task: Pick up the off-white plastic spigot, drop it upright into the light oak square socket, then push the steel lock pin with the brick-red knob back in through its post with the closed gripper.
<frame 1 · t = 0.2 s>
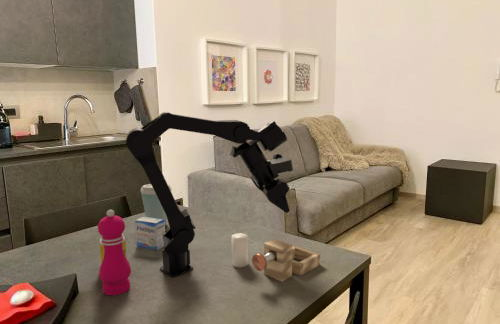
hand: (282, 206, 110), 14 cm above the table, tool tilted 30°, fingers open, 9 cm apart
medicine box: (151, 246, 120), on the table
dock socket: (297, 265, 105), on the table
disposable coffee cup: (158, 225, 138), on the table
lock pin: (269, 257, 96), point 6 cm above the table, slide at 0.0 cm
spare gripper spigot: (240, 263, 107), on the table
pepper mill: (116, 289, 94), on the table
pill bottle: (114, 269, 105), on the table
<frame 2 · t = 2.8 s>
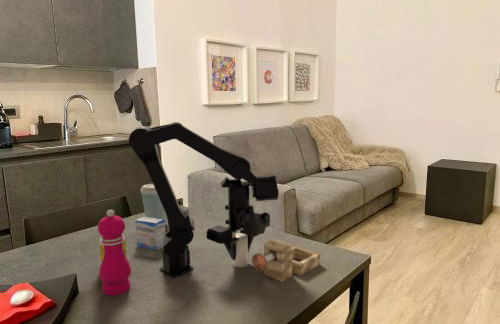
hand: (239, 256, 106), 2 cm above the table, tool pointing down, fingers closed on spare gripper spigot, 4 cm apart
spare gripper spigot: (240, 263, 107), on the table, touching gripper
everything else where it was.
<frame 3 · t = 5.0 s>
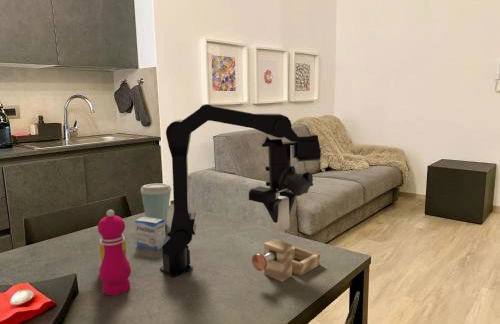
hand: (281, 219, 104), 13 cm above the table, tool pointing down, fingers closed on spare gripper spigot, 4 cm apart
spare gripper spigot: (281, 227, 104), point 11 cm above the table, touching gripper
everything else where it was.
when the fingers open (4 cm above the table, at t = 7.6 s): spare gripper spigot drops 2 cm, resting in dock socket.
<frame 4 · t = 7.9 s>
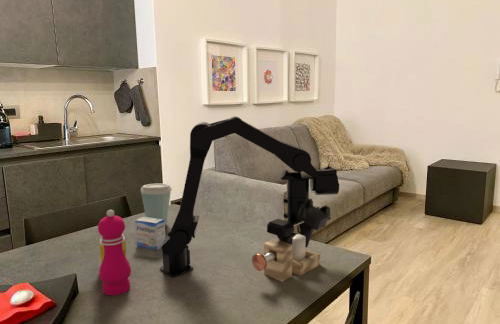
hand: (297, 251, 105), 4 cm above the table, tool pointing down, fingers open, 7 cm apart
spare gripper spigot: (297, 265, 105), resting in dock socket
everything else where it was.
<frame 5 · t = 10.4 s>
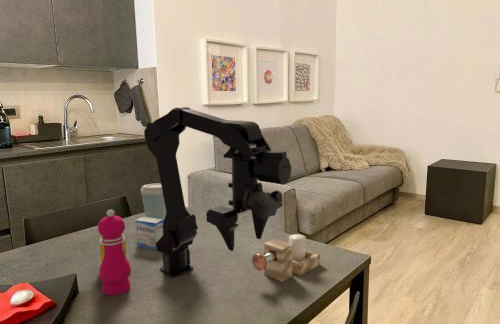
hand: (245, 244, 90), 12 cm above the table, tool pointing down, fingers open, 9 cm apart
nothing on the table moved.
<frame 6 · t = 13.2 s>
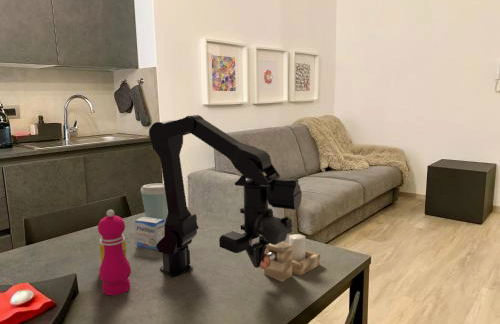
hand: (256, 267, 93), 5 cm above the table, tool pointing down, fingers closed
lock pin: (273, 255, 97), point 6 cm above the table, slide at 1.3 cm, touching gripper
everything else where it was.
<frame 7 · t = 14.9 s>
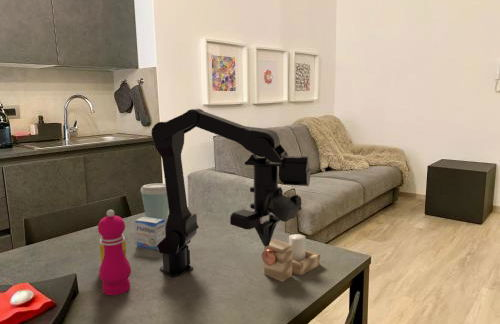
hand: (266, 245, 95), 10 cm above the table, tool pointing down, fingers closed
lock pin: (278, 252, 99), point 6 cm above the table, slide at 3.6 cm
everything else where it was.
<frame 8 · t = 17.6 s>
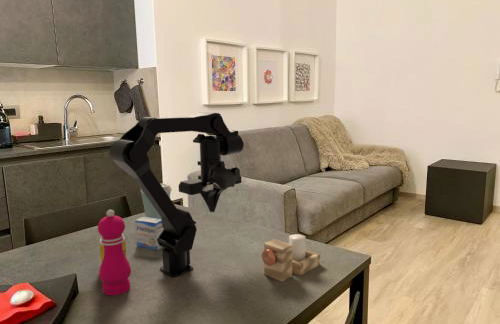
hand: (212, 211, 110), 13 cm above the table, tool pointing down, fingers closed
nothing on the table moved.
at the end: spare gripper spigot 0.0 cm off-centre on the dock socket, point 0.0 cm above the dock socket's base; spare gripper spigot tilted 0°; lock pin slide at 3.6 cm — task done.
